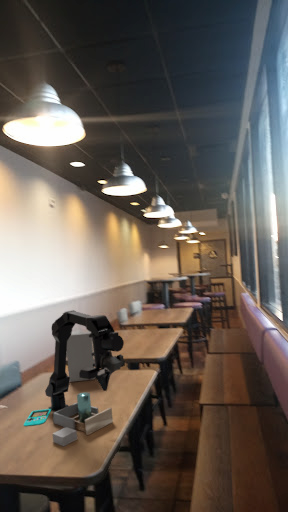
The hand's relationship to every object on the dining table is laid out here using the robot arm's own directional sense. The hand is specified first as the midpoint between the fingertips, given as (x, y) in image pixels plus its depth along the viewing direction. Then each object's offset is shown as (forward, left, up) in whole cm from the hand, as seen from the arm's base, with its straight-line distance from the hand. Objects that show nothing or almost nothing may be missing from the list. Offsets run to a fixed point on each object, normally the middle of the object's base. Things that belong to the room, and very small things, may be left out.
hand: (105, 390), depth 140 cm
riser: (-5, -16, -13) cm, 21 cm away
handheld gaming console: (-33, -9, -14) cm, 37 cm away
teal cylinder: (-10, -3, -12) cm, 16 cm away
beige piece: (-8, -3, -13) cm, 15 cm away
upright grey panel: (-57, +34, -14) cm, 68 cm away
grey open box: (-16, -3, -13) cm, 21 cm away
